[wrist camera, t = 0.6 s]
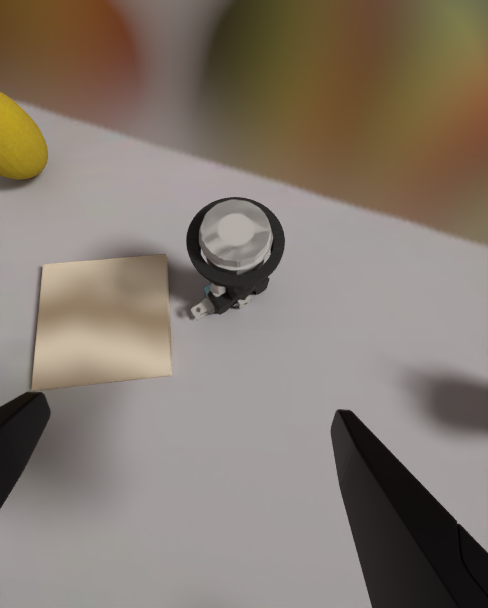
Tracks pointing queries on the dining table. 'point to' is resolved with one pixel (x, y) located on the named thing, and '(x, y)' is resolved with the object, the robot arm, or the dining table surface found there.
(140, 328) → the birch pad
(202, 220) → the push button
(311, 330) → the dining table surface
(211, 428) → the dining table surface
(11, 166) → the lemon
